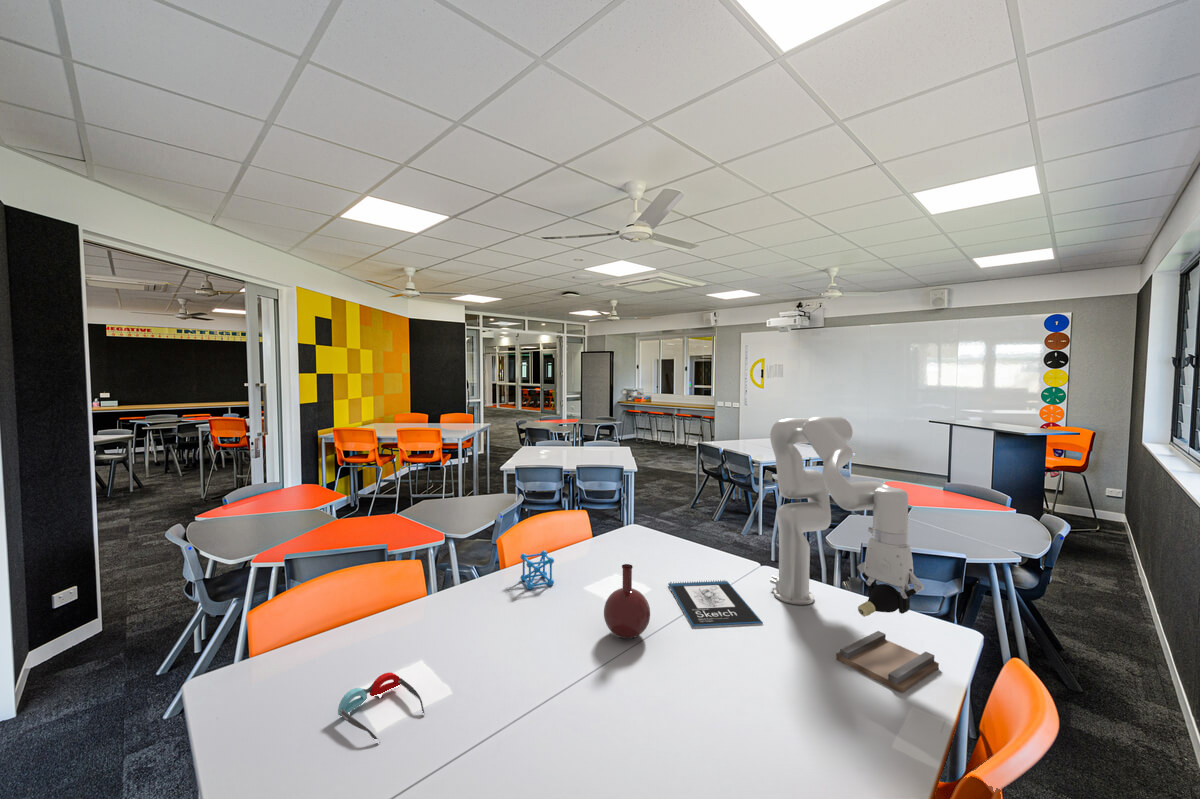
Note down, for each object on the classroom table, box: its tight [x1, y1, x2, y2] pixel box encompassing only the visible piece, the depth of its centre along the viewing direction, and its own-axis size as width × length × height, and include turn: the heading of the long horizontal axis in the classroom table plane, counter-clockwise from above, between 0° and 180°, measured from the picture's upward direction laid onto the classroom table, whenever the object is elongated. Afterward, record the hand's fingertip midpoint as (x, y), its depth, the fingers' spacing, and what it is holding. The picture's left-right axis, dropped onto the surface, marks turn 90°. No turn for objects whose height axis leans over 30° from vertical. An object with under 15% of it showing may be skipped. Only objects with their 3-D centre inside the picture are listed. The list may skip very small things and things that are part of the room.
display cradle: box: [835, 630, 940, 693], centre depth 123 cm, size 16×18×3 cm
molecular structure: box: [519, 550, 555, 590], centre depth 171 cm, size 10×10×10 cm
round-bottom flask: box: [603, 563, 651, 640], centre depth 136 cm, size 13×13×20 cm
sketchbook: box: [667, 579, 764, 629], centre depth 156 cm, size 22×30×2 cm
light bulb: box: [857, 583, 901, 618], centre depth 121 cm, size 7×7×12 cm
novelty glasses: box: [337, 672, 425, 740], centre depth 103 cm, size 14×15×5 cm
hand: (888, 605), depth 122 cm, fingers closed on light bulb, 6 cm apart
